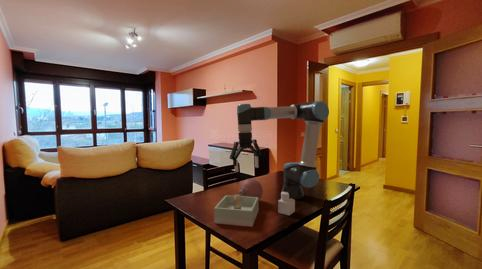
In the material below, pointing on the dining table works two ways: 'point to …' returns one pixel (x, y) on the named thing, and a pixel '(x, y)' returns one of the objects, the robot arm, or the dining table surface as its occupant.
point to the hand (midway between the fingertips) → (246, 169)
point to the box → (236, 211)
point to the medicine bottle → (286, 203)
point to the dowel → (237, 201)
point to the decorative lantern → (251, 188)
